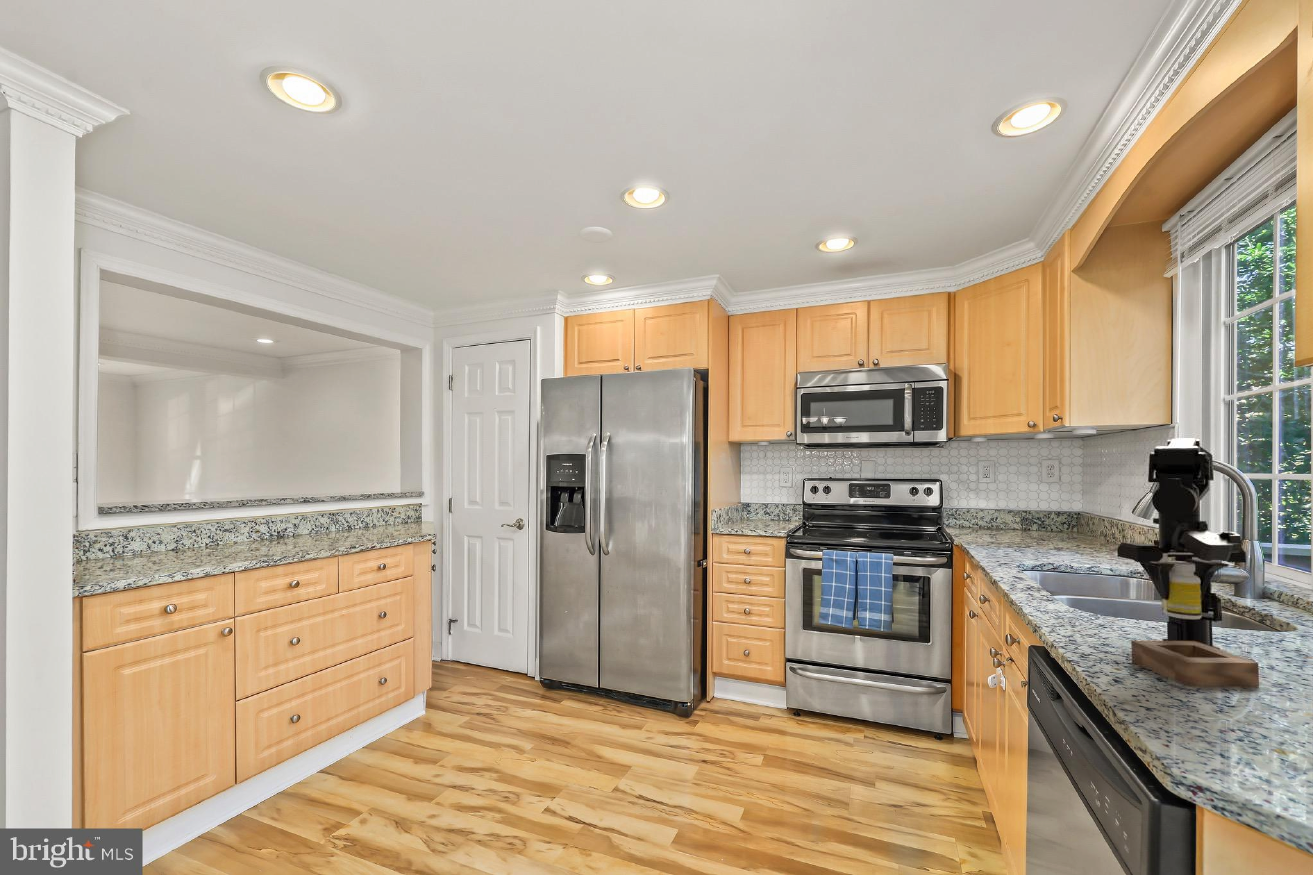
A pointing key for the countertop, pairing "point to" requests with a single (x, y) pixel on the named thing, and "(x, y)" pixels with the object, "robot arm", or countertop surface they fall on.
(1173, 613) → the supplement bottle
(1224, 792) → the countertop surface
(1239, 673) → the socket block
